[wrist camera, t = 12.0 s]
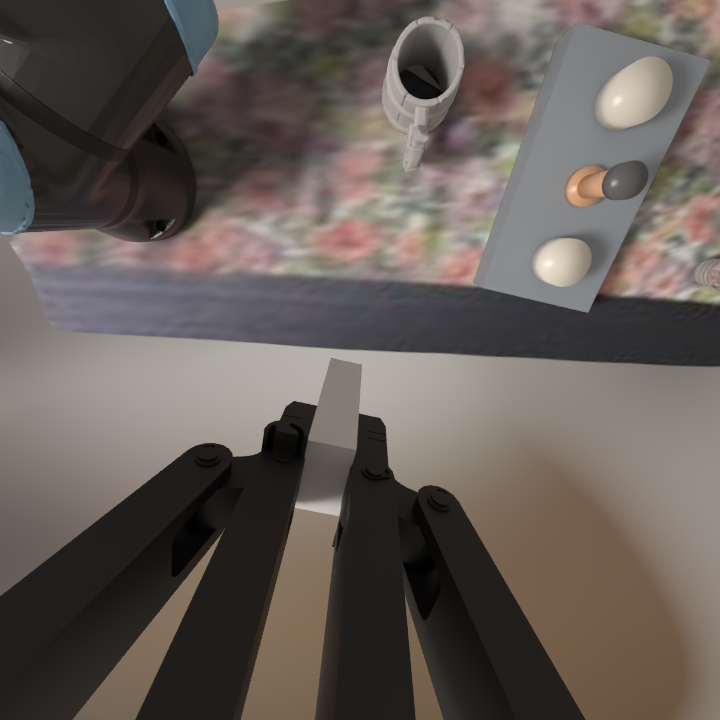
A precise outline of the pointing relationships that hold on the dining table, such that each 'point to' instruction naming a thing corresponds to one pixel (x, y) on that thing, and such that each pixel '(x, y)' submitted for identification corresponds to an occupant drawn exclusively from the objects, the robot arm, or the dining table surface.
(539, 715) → the robot arm
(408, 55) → the mug
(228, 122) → the dining table surface
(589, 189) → the ball
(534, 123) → the panel
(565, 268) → the knob
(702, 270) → the light bulb
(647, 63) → the knob
